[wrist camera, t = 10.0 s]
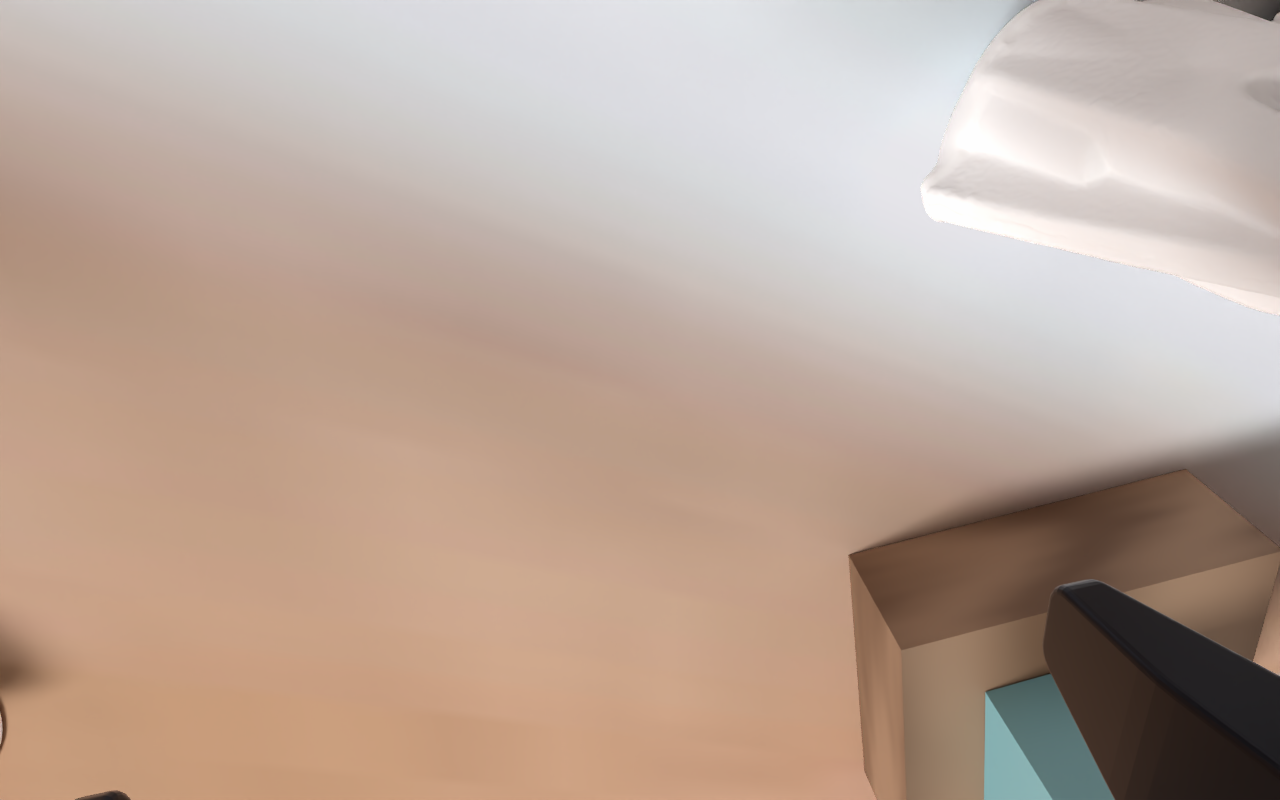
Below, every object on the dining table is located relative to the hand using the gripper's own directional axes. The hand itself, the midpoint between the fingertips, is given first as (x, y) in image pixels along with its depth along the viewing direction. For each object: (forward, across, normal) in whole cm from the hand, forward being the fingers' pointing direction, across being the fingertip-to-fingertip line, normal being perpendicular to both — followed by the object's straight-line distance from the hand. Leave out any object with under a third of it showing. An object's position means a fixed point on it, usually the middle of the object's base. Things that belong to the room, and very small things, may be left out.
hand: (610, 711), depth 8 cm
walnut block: (+12, -12, +15) cm, 23 cm away
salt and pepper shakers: (+12, -14, -1) cm, 19 cm away
